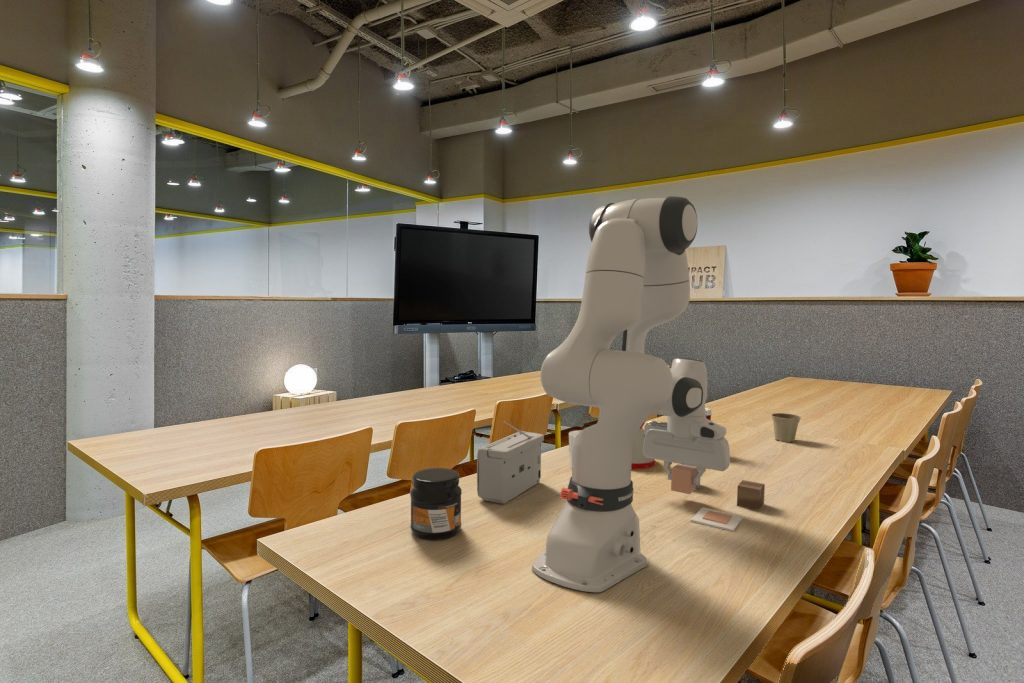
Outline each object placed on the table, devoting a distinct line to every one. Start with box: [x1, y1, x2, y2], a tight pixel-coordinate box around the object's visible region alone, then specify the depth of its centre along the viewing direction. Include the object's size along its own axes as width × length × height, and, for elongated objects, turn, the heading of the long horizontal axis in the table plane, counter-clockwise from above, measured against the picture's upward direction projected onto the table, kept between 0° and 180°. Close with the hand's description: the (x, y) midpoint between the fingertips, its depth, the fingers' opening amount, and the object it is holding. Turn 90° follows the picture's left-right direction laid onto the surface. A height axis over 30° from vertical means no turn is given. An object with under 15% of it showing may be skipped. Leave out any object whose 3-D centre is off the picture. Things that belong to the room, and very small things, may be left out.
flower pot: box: [770, 412, 802, 443], centre depth 194 cm, size 9×9×9 cm
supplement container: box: [409, 467, 463, 541], centre depth 116 cm, size 10×10×12 cm
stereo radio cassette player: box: [476, 420, 545, 505], centre depth 140 cm, size 21×8×20 cm, turn 150°
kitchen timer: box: [631, 421, 656, 470], centre depth 166 cm, size 14×14×15 cm
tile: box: [689, 506, 744, 532], centre depth 123 cm, size 9×9×1 cm
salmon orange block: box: [670, 463, 697, 495], centre depth 135 cm, size 4×4×6 cm
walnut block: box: [736, 479, 766, 512], centre depth 132 cm, size 5×5×5 cm
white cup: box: [568, 429, 583, 470], centre depth 160 cm, size 8×8×10 cm
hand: (683, 482), depth 135 cm, fingers closed on salmon orange block, 4 cm apart
